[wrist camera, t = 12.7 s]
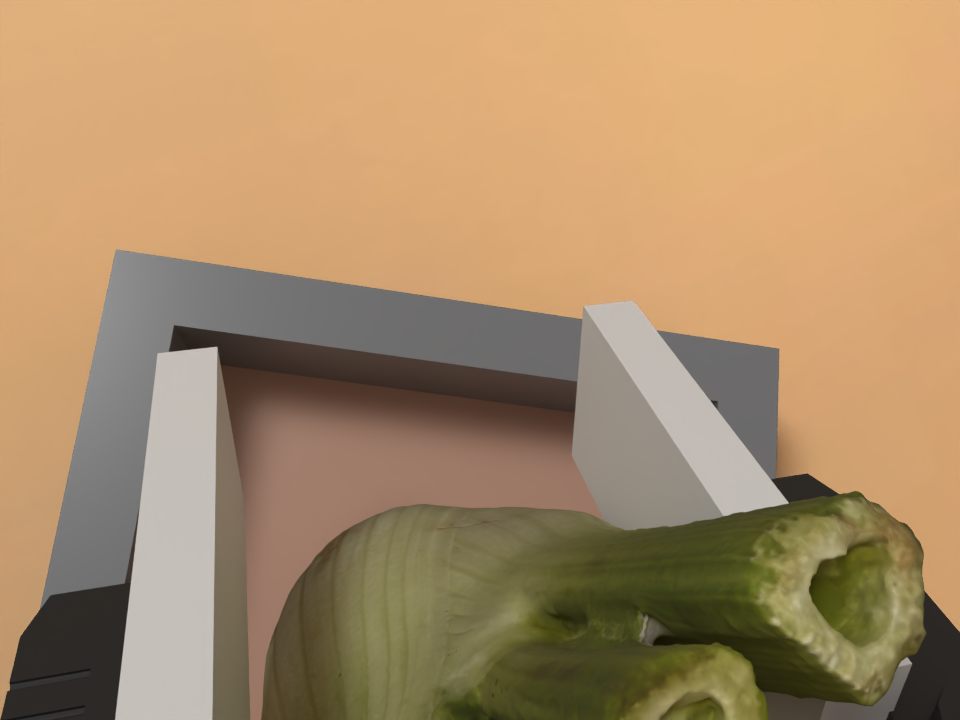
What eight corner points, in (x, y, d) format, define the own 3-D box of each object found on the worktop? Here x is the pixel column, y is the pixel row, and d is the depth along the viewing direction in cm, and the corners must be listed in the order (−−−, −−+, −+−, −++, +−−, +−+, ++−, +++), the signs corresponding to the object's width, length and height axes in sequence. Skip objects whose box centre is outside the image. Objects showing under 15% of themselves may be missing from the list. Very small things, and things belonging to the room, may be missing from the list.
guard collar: (678, 992, 18) (760, 1089, 15) (21, 963, 16) (-57, 1065, 13) (705, 383, 21) (779, 348, 18) (151, 305, 19) (116, 250, 16)
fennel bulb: (289, 851, 15) (196, 1705, 4) (218, 565, 16) (-34, 549, 5) (604, 734, 17) (1248, 1101, 5) (524, 474, 17) (922, 284, 6)
